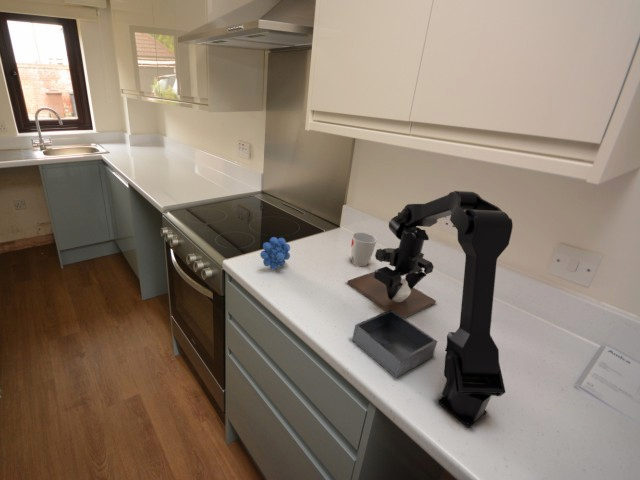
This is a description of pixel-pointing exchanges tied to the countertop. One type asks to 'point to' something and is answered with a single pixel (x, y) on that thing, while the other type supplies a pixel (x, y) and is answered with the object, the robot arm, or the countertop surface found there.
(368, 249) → the cup
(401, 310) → the board
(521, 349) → the countertop surface
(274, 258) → the grapes
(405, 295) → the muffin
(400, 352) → the dark grey open box
